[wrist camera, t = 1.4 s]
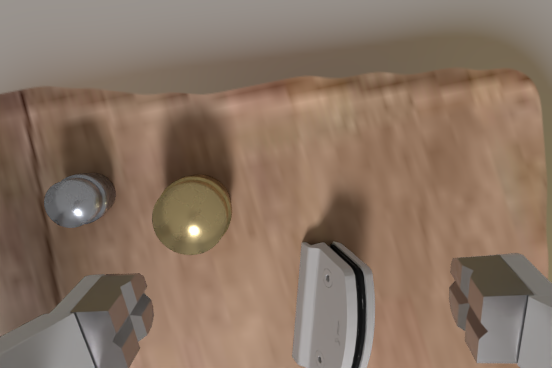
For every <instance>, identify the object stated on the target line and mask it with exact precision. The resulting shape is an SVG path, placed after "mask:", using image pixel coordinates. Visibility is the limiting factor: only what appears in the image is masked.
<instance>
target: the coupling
mask: <svg viewBox="0 0 552 368" xmlns="http://www.w3.org/2000/svg"><path fill="white" fill-rule="evenodd" d="M115 197H116V192H115V188H114V186H113V184H112V182H111V181H110V180H109V179H108V178H106V177H105V176H103V175H101V174H97V173H88V174H86V173H80V174H75V175H72V176H69V177H66V178H65V179H63V180H62V181H61V182H58V183H56V184H54V185H53V186H51V187H50V188H49V190H48V191H47V193H46V195H45V199H44V206H45V210H46V212H47V214H48V216H49V217H50V218H51V220H52V221H54V222H55V223H56V224H58V225H60V226H63V227H67V228H74V227H79V226H81V225H83V224H88V223H91V222H94V221H95V220H97V219H99V218H100V217H102V216H103V215H104V214H105V213H106V211H107V210H109V209H110V208H111V207H112V205H113V204H114V201H115Z"/></svg>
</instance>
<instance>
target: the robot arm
mask: <svg viewBox="0 0 552 368" xmlns="http://www.w3.org/2000/svg"><path fill="white" fill-rule="evenodd" d="M450 273H451V274H452V276H453V278H454V280H455V282H454V283H453V284H452V285H451V286H450V287H449V302H450V309H451V312H452V315H453V318H454V320H455V322H456V324H457V326H458V327H460V328H461V329H463V330H464V331H465V342H466V344H467V346H468V347H469V349H470V351H471V353H472V355H473V357H474V359H475V361H476V363H518V366H519V367H520V368H552V283H551V282H550V281H549V280H548V279H547V278H546V277H545V276H544V275H542V274H541V273H540V272H539V271H538V270H537V269H536V268H535V267H534V266H533V265H532V264H531V263H530V262H529V261H528V260H527V259H526V258H525V257H524V256H523V255H522V254H519V253H511V254H499V255H490V256H476V257H461V258H453V259H452V262H451V270H450ZM146 288H147V284H146V281H145V278H144V276H143V275H141V274H140V273H135V274H106V275H104V274H101V275H89V276H86V277H84V278H83V279H82V280H81V281H80V282H79V283H78V284H77V285H76V286H75V287H74V288H73V289H72V290H71V292H70V293H69V294H68V295H67V296H66V297H65V298H64V299H63V300H62V301H61V302H60V303H59V304H58V305H57V306H56V307H55V308H54V309H53V310H52V311H51V312H50V313H49V314H43V315H41V316H39V317H37V318H35V319H33V320H31V321H30V322H28V323H26V324H24V325H22V326H20V327H18V328H16V329H14V330H12V331H11V332H9V333H7V334H5V335H3V336H1V337H0V368H129V367H130V365H131V364H132V362H133V360H134V358H135V356H136V355H137V353H138V351H139V349H140V346H139V343H138V341H140V340H141V339H143V338H144V337H145V336H147V334H148V333H149V331H150V329H151V327H152V322H153V317H154V312H153V305H152V301H151V299H150V298H149V297H148V296H146V295H145V294H144V292H145V290H146Z"/></svg>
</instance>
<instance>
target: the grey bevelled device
mask: <svg viewBox="0 0 552 368" xmlns="http://www.w3.org/2000/svg"><path fill="white" fill-rule="evenodd" d="M374 324H375V295H374V283H373V275H372V271H371V269H370V268H369V267H368V266H367V265H366V264H365V263H364V262H363V261H361V260H360V259H359V258H358V257H357V256H355V255H354V254H353V253H352V252H351V251H350V250H348V249H347V248H346V247H345V246H344V245H343V244H341V243H339V242H334V241H333V243H332V245H331V247H329V246H328V245H326V244H325V243H324V242H322V243H318V244H314V245H310V244H308V243H307V242H302V246H301V258H300V270H299V282H298V294H297V306H296V318H295V330H294V342H293V354H292V357H293V358H294V360H295V361H296V363H297V364H298V365H300V366H304V367H307V368H367V365H368V361H369V358H370V354H371V348H372V343H373V335H374Z"/></svg>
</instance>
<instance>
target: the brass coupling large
mask: <svg viewBox="0 0 552 368" xmlns="http://www.w3.org/2000/svg"><path fill="white" fill-rule="evenodd" d="M231 216H232V206H231V200H230V196H229V193H228V191H227V190H226V188H225V187H224V186H223V184H222V183H220V182H219V181H218V180H216V179H215V178H213V177H210V176H207V175H191V176H186V177H183V178H180V179H178V180H176V181H175V182H173V183H172V184H171V185H169V186H168V187H167V188H166V189H165V190H164V192H163V193H162V195H161V196H160V198H159V199H158V200H157V202H156V204H155V206H154V209H153V214H152V223H153V228H154V231H155V233H156V235H157V237H158V238H159V240H160V241H161V242H162V243H163V244H164V245H165V246H166V247H167V248H169V249H170V250H172V251H174V252H177V253H180V254H184V255H196V254H200V253H204V252H206V251H208V250H210V249H211V248H212V247H214V246H215V245H216V244H217V243H218V242H219V240H220V239H221V237H222V236H223V235H224V234H225V232H226V231H227V229H228V227H229V224H230V220H231Z"/></svg>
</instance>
